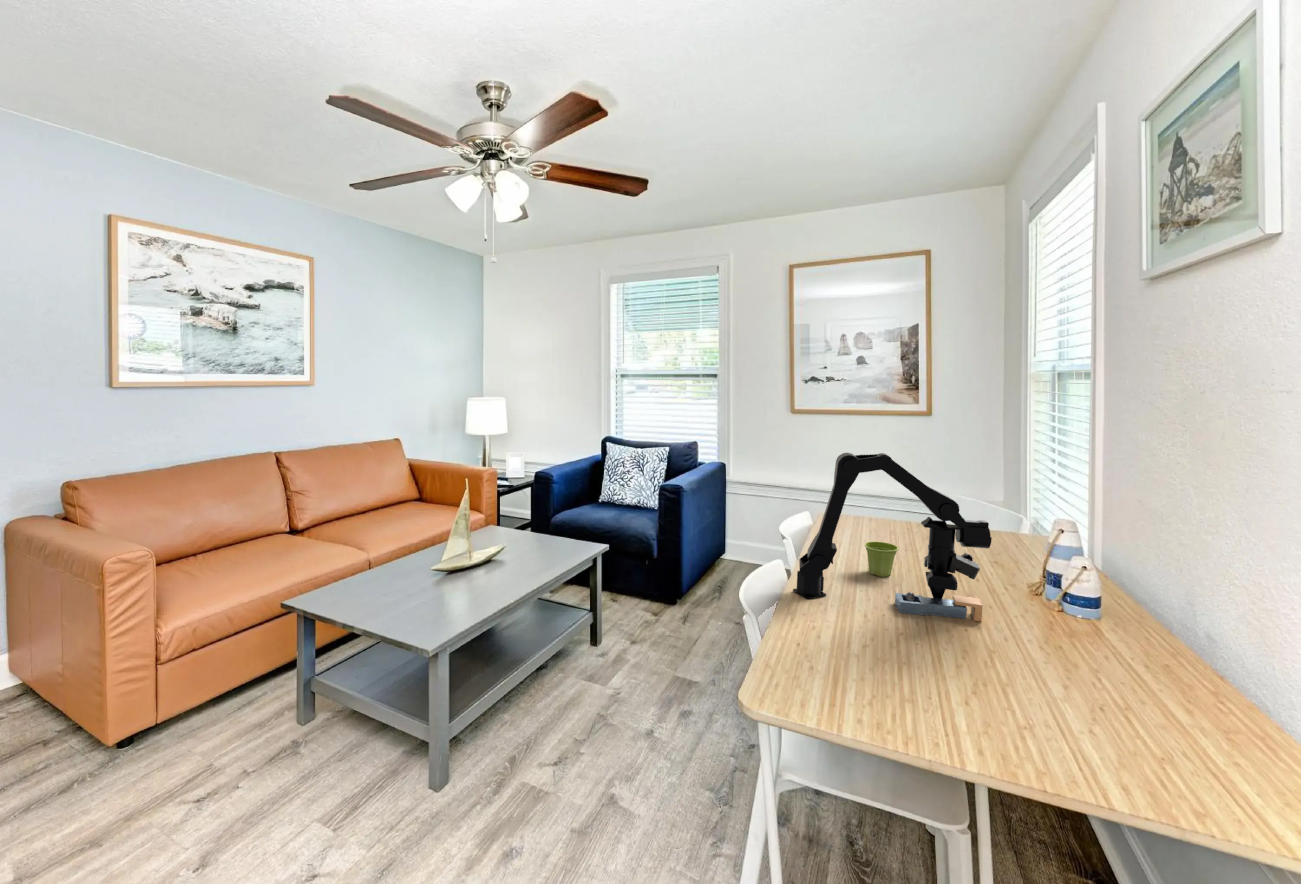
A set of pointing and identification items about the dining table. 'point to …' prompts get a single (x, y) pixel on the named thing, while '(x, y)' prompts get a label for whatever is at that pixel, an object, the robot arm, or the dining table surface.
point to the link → (929, 606)
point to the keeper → (970, 605)
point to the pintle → (910, 597)
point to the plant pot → (880, 557)
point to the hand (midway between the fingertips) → (937, 603)
